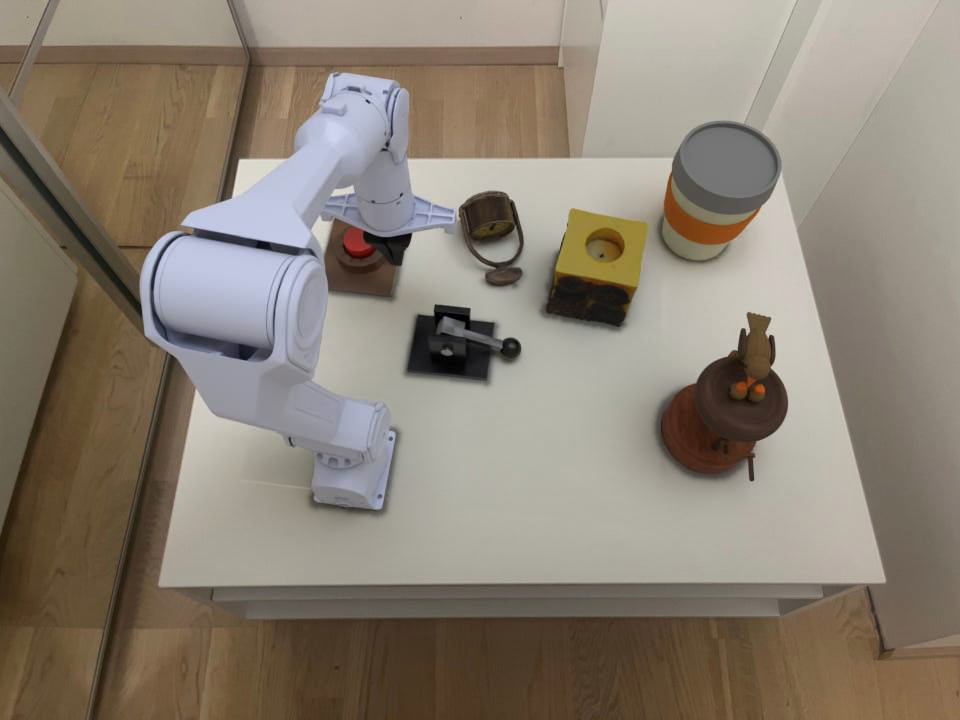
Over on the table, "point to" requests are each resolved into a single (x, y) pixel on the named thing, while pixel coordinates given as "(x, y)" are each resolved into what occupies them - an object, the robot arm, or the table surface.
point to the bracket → (449, 346)
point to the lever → (480, 338)
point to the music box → (728, 406)
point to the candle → (597, 267)
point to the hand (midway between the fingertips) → (397, 258)
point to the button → (357, 243)
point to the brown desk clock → (492, 229)
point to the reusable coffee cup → (717, 187)
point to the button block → (356, 267)
